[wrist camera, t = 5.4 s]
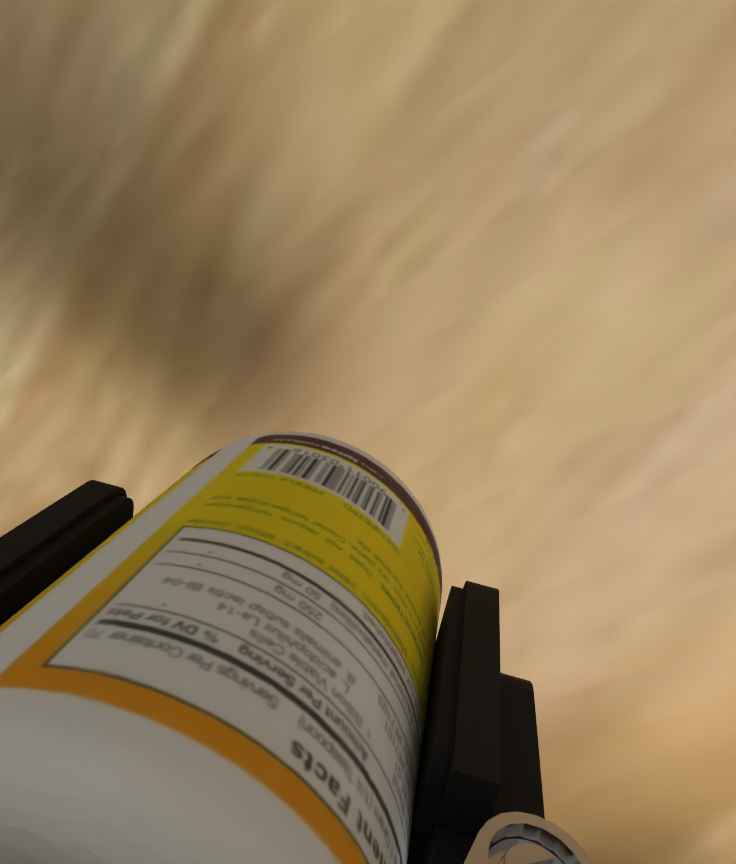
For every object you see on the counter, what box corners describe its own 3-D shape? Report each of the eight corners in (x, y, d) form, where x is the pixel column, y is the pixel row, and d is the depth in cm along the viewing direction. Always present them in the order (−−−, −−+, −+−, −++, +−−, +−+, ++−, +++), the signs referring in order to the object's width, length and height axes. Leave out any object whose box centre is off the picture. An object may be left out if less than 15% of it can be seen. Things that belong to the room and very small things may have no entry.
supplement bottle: (225, 681, 14) (-316, 1605, 5) (142, 449, 13) (-869, 1098, 3) (474, 657, 13) (419, 1888, 3) (412, 394, 12) (7, 1235, 2)
